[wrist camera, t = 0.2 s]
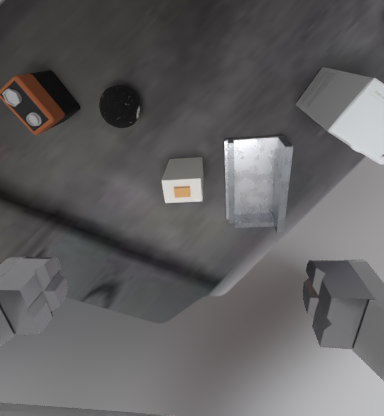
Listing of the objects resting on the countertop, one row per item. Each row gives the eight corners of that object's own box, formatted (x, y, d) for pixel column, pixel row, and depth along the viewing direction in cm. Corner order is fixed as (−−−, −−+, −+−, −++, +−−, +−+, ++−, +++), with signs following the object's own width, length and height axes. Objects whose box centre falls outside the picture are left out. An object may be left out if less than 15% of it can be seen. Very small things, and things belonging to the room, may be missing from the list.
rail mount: (224, 139, 45) (225, 150, 40) (283, 135, 44) (293, 146, 39) (226, 216, 53) (227, 234, 48) (276, 214, 52) (283, 232, 47)
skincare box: (362, 94, 40) (436, 118, 27) (330, 132, 43) (383, 169, 30) (320, 64, 39) (378, 73, 25) (290, 105, 42) (327, 133, 28)
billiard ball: (140, 126, 45) (131, 136, 40) (106, 117, 45) (92, 126, 39) (146, 89, 42) (137, 95, 37) (109, 79, 41) (94, 83, 36)
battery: (51, 69, 41) (9, 74, 33) (82, 107, 44) (51, 122, 35) (33, 85, 43) (-11, 94, 34) (64, 121, 45) (30, 139, 37)
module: (169, 159, 48) (160, 182, 40) (202, 157, 47) (200, 180, 39) (172, 178, 50) (164, 204, 42) (203, 177, 49) (202, 203, 41)
